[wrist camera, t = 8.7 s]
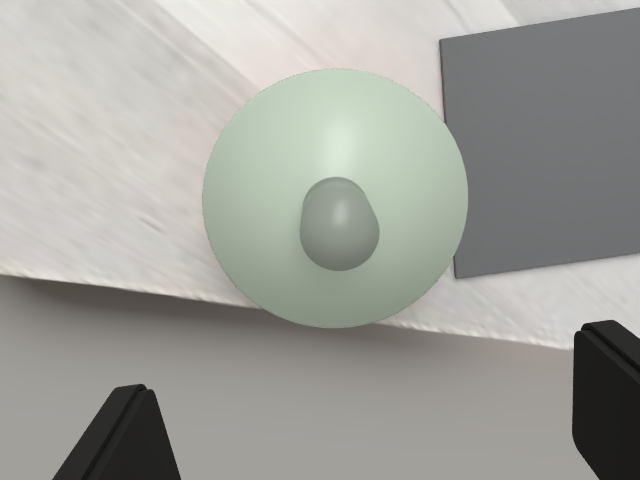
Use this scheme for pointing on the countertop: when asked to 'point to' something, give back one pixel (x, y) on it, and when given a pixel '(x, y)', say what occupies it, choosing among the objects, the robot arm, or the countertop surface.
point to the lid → (335, 198)
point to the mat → (547, 141)
